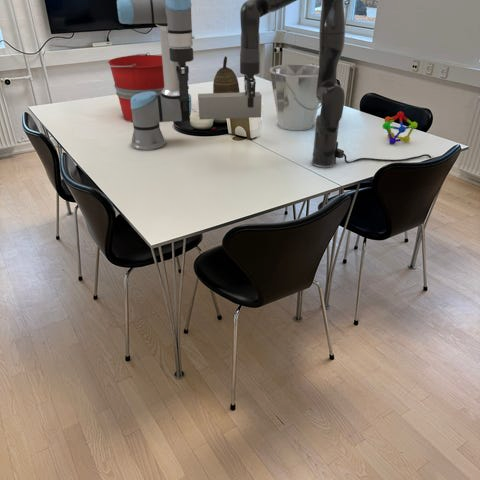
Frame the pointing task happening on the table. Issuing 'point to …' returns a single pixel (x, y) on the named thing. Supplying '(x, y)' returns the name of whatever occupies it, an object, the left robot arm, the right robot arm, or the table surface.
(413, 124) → the educational toy
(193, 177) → the table surface
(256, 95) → the bar
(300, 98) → the bucket
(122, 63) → the bucket
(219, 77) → the bell
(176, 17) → the left robot arm
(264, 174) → the table surface
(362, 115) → the table surface
